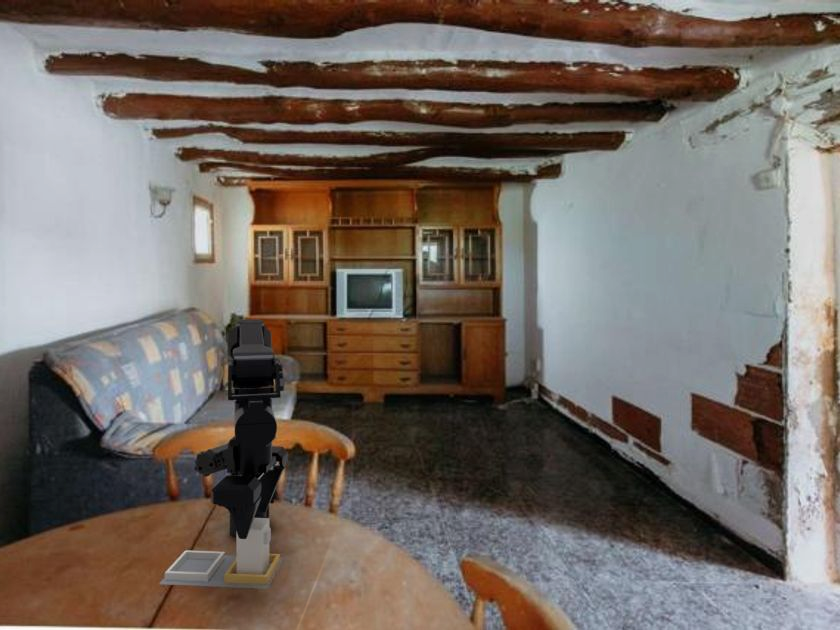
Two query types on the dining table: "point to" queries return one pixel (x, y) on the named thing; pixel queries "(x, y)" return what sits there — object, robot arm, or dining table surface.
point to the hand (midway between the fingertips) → (253, 524)
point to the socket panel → (217, 571)
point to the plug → (254, 548)
